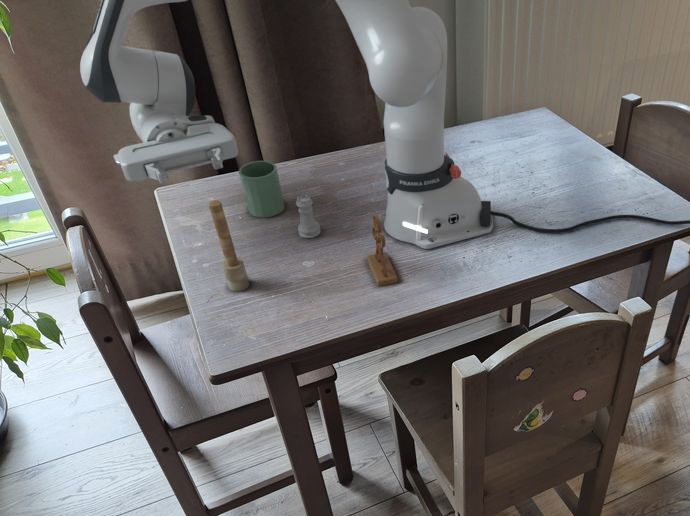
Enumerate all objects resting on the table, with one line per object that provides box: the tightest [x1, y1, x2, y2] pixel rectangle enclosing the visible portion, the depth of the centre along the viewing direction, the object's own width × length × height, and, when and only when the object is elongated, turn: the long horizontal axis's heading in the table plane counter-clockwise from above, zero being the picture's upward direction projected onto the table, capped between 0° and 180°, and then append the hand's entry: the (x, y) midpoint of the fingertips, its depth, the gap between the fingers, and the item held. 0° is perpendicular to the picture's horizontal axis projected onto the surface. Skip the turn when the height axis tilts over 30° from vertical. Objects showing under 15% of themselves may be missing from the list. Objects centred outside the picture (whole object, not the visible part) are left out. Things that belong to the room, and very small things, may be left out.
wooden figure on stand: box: [366, 213, 399, 287], centre depth 115 cm, size 9×4×12 cm, turn 20°
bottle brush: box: [208, 199, 250, 292], centre depth 110 cm, size 4×4×17 cm
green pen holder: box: [238, 160, 286, 218], centre depth 132 cm, size 7×7×9 cm
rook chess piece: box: [295, 194, 322, 240], centre depth 125 cm, size 4×4×8 cm
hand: (191, 171), depth 111 cm, fingers open, 8 cm apart
